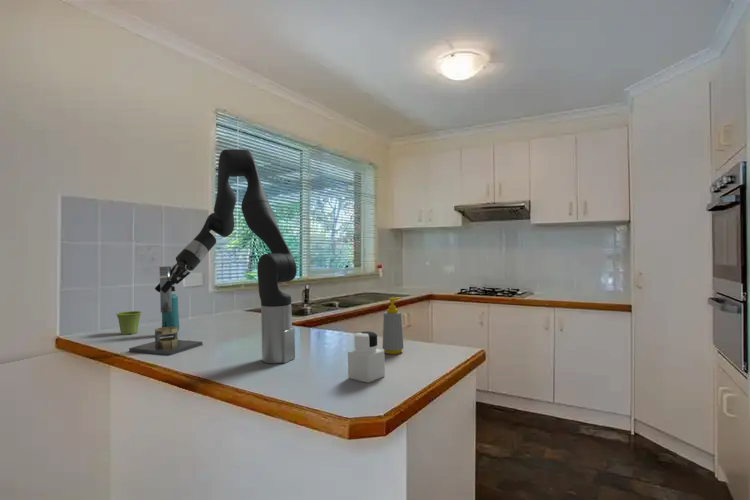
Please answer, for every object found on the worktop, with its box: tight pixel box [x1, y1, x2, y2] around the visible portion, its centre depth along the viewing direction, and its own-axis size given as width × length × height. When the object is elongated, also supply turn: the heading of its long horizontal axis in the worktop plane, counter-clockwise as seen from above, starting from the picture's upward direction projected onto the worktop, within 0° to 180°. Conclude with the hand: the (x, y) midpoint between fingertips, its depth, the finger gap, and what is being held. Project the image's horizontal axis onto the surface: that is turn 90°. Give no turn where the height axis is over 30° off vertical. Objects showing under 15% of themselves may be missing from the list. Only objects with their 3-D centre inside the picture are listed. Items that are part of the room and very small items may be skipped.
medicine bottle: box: [347, 331, 386, 384], centre depth 115 cm, size 7×7×12 cm
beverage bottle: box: [161, 285, 180, 332], centre depth 176 cm, size 6×7×20 cm
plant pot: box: [115, 310, 143, 336], centre depth 180 cm, size 9×9×9 cm
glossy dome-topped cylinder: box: [159, 265, 173, 314], centre depth 152 cm, size 4×4×16 cm
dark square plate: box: [128, 326, 203, 356], centre depth 152 cm, size 18×15×7 cm
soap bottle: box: [382, 296, 404, 355], centre depth 141 cm, size 7×7×18 cm
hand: (160, 290), depth 151 cm, fingers closed on glossy dome-topped cylinder, 3 cm apart
